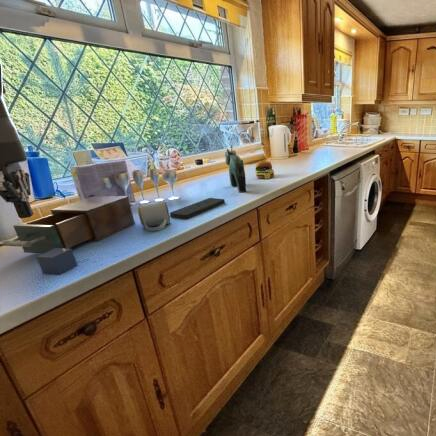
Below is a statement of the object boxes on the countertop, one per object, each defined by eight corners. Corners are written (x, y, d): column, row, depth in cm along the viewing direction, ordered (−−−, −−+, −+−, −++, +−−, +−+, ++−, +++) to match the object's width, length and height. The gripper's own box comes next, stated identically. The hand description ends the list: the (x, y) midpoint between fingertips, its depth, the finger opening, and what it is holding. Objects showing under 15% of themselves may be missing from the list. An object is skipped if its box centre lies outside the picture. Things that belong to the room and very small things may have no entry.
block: (43, 273, 71) (35, 256, 69) (62, 264, 75) (55, 247, 74) (59, 275, 70) (52, 257, 68) (77, 265, 74) (71, 248, 73)
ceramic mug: (143, 223, 101) (138, 201, 98) (170, 219, 105) (165, 197, 102) (141, 234, 92) (135, 211, 90) (171, 229, 96) (165, 206, 93)
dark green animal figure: (228, 184, 151) (222, 144, 144) (241, 183, 154) (235, 143, 147) (236, 193, 134) (230, 147, 128) (251, 191, 137) (245, 146, 130)
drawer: (40, 263, 74) (28, 234, 71) (3, 261, 76) (-10, 232, 73) (104, 234, 91) (96, 209, 88) (72, 233, 93) (64, 209, 90)
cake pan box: (131, 199, 131) (120, 158, 125) (138, 200, 129) (128, 159, 123) (82, 213, 114) (67, 166, 108) (90, 214, 112) (75, 167, 106)
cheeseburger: (258, 180, 158) (255, 161, 157) (254, 181, 168) (251, 163, 167) (277, 177, 162) (273, 158, 161) (272, 178, 172) (269, 161, 171)
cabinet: (97, 241, 88) (87, 210, 85) (61, 240, 90) (50, 209, 87) (135, 223, 102) (127, 196, 98) (103, 222, 104) (94, 195, 100)
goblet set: (103, 209, 118) (93, 175, 113) (105, 205, 122) (96, 173, 118) (181, 198, 130) (175, 168, 125) (181, 195, 134) (175, 165, 130)
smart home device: (225, 198, 120) (185, 214, 103) (226, 203, 121) (186, 219, 104) (209, 197, 124) (168, 212, 106) (210, 201, 124) (169, 217, 107)
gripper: (-14, 139, 68) (16, 212, 74) (-47, 144, 57) (-9, 229, 63) (30, 137, 71) (55, 207, 77) (6, 141, 60) (38, 222, 66)
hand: (26, 216), depth 70 cm, fingers closed
